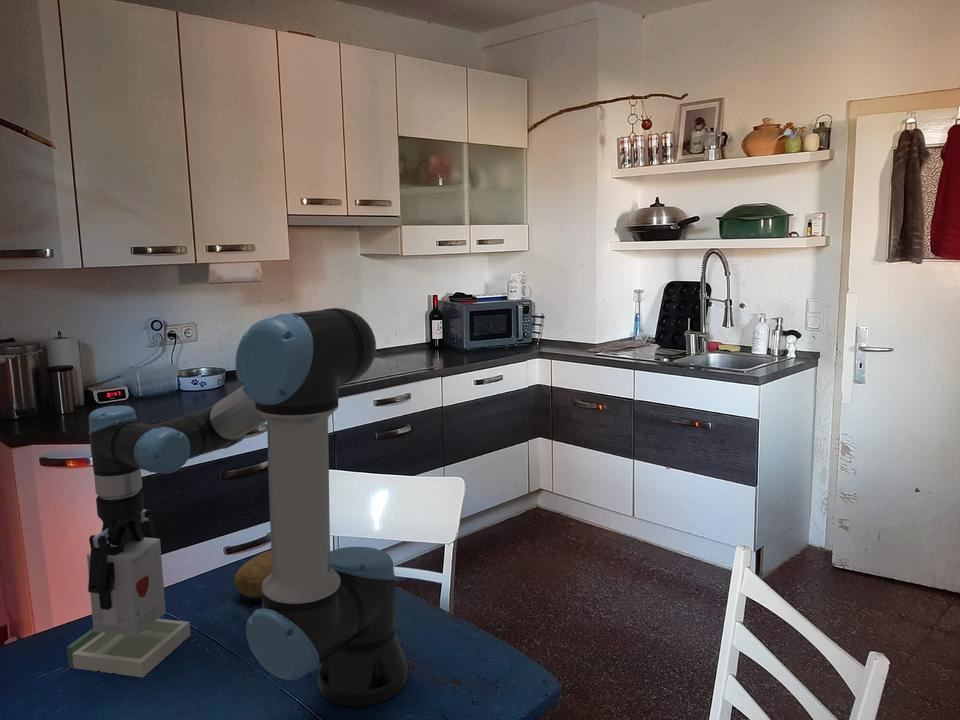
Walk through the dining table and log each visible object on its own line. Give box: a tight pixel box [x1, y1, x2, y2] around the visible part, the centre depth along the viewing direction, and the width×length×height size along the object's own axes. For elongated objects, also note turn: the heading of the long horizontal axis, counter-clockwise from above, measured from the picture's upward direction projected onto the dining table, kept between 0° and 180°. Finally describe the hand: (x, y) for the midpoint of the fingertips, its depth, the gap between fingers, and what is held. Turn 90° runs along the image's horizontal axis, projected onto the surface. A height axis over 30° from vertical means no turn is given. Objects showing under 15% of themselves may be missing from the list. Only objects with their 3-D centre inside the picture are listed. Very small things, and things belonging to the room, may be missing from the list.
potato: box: [233, 550, 272, 599], centre depth 159 cm, size 10×14×8 cm
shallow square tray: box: [66, 618, 191, 678], centre depth 137 cm, size 15×14×4 cm
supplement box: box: [86, 537, 166, 637], centre depth 135 cm, size 9×9×15 cm
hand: (130, 609), depth 136 cm, fingers closed on supplement box, 9 cm apart
